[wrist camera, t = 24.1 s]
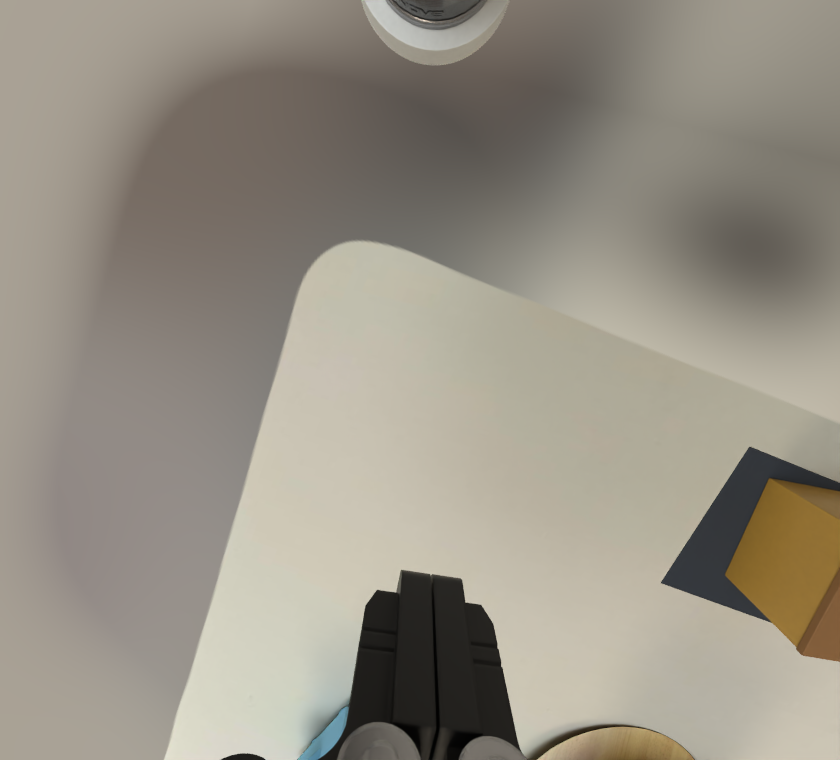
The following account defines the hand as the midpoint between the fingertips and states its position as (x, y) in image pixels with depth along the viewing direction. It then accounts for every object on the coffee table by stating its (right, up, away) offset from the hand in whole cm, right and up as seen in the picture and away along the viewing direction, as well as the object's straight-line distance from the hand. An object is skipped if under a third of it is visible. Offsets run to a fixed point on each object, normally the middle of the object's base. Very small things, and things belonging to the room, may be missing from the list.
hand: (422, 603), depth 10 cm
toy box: (+36, -10, +31) cm, 48 cm away
